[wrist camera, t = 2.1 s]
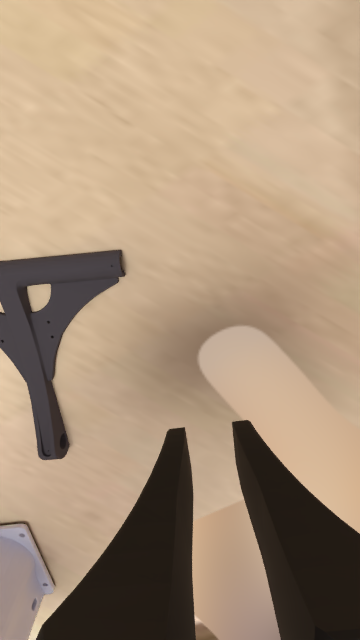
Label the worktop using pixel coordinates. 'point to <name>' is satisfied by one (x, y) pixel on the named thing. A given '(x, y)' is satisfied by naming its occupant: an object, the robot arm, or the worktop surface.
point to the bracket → (48, 327)
